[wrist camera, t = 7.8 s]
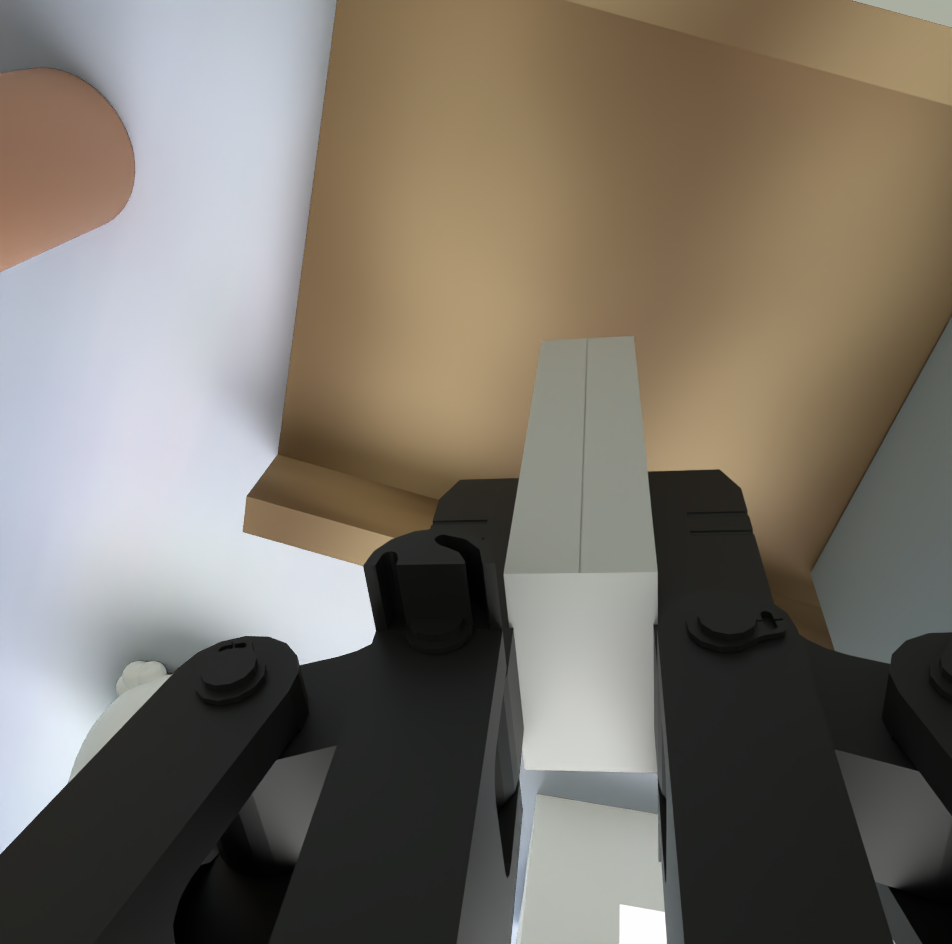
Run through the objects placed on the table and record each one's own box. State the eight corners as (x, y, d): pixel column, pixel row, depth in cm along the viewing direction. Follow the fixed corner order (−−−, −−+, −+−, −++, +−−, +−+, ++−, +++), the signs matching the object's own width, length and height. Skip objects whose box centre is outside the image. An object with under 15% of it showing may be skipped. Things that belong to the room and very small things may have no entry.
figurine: (321, 657, 26) (234, 849, 20) (353, 806, 29) (286, 1009, 23) (76, 648, 27) (-70, 825, 21) (132, 791, 30) (18, 979, 24)
